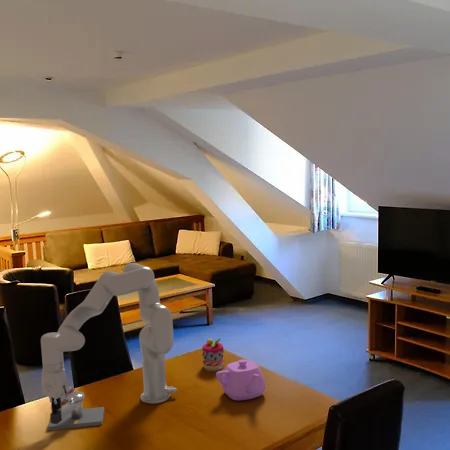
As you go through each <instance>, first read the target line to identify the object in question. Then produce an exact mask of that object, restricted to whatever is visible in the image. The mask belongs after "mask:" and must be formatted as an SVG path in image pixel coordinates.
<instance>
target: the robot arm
mask: <svg viewBox="0 0 450 450" xmlns="http://www.w3.org/2000/svg"><path fill="white" fill-rule="evenodd" d="M122 271H123V272H122V273H118V272H117V271H116V272H115V271H113V270H107V271H104V272H103V273H102V274H101V275H100V276H99V278H98V279H97V281H96V282H95V284H94V285H93V287H92V288H91V290H90V291H89V293H88V294H87V295H86V296H85V299H84V300H83V301H82V302H81V303H80V304H78V305H77V306H76V307H74V309H73V310H71V311H70V312H69V314H67V316H66V317H65V318H64V320H63V321H62V323H61V324H60V326H59V328H58V330H57V332H55V331H54V332H47V333H44V334H43V335H42V336H41V338H40V348H41V359H42V360H41V362H42V369H41V374H40V375H41V377H40V378H41V379H40V381H41V383H40V385H41V388H40V389H41V393H42V395H44V396H47V397H48V398H49V403H51V413H52V412H54V411H55V410H58V409H60V408H61V407H62V403H61V401H63V400H65V399H66V394H67V388H68V380H67V375H66V370H65V363H64V362H65V361H64V352H73V351H74V352H75V351H79V350H80V349H82V347H84V345H85V343H86V338H85V336H84V335H83V333H82V332H80V331H79V330H80V329H81V328H82V326H83V325H84V323H86V321H88V320H89V319H91V318H93V317H96V316H99V315H101V314H102V313H103V312H104V310H105V309H106V308H107V306H108V305H109V303H110V302H111V300H112V298H113V297H114V296H115V297H118V296H120V297H121V296H124V295H128V294H130V293H131V294H132V293H135V292H137V293H138V302H139V316H140V320H141V321H142V322H144V323H145V324H147V325H145V326H144V327H142V329H141V330H140V332H139V335H138V340H139V341H138V342H139V346H140V347H139V348H140V351H141V359H142V364H141V365H142V378H143V379H142V380H143V392H142V393H141V394H140V400H141V402H143V403H145V404H152V405H154V404H160V403H163V402H166V401H168V400H169V399H170V398H171V394H172V393H175V394H176V393H178V388H177V387H174V386H169V385H167V378H166V377H167V376H166V358H165V357H166V356H165V355H166V354H168V353H169V352H170V351H171V350H172V349H173V346H174V337H175V336H174V325H173V323H174V322H173V315H172V313H171V310H170V309H169V308H168V307H167V306H166V305H163V304H161V300H160V291H159V286H158V283H157V281H156V279H155V273H154V271H153V270H152V269H151V267H148V266H145V265H143V264H140V263H136V262H130V263H127V264H126V265H125V266H124V268H123V270H122Z"/></svg>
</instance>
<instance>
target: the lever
mask: <svg viewBox="0 0 450 450" xmlns="http://www.w3.org/2000/svg"><path fill="white" fill-rule="evenodd" d="M84 400H85V393H84V392H83V391H81V390H80V391H74V392H72V393H70V394H68V396H67V400H66V401H67V403H66V402H65V403H64V405H63V406H62V405H61V408H60V409H58V410H55V411H54V412H52V411H51V413H49V415H50V418H49V419H50V421H51V423H52V424H58V423H59V422H60V421H62V418H64V417H65V416H66V415H68V414H69V413H70V412H71V417H72V418H74V419H76V418H80V417H82V416H83V409H84V408H83V401H84Z"/></svg>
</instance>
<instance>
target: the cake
mask: <svg viewBox="0 0 450 450" xmlns="http://www.w3.org/2000/svg"><path fill="white" fill-rule="evenodd" d="M220 341H221V337H219V338H218V339H216V340H215V341H214V340H213V339H212V338H208V339H207V340H206V343H205V344H203V345H202V358H203V361H201V362H202V363H203V369H204V371H208V372H216V371H217V372H218V371H222V370H223V368H224V362H225V358H224V353H225V352H224V345H223V344H222V343H220Z"/></svg>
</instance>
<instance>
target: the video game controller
mask: <svg viewBox="0 0 450 450" xmlns="http://www.w3.org/2000/svg"><path fill="white" fill-rule="evenodd" d="M75 389H76V388H74V387H73V386H69V387H68V386H67V394H66V399H65V400H63V401H61V404H66V402H67V401H68V400H67V396H68V394H70V393H72V392H75Z"/></svg>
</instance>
